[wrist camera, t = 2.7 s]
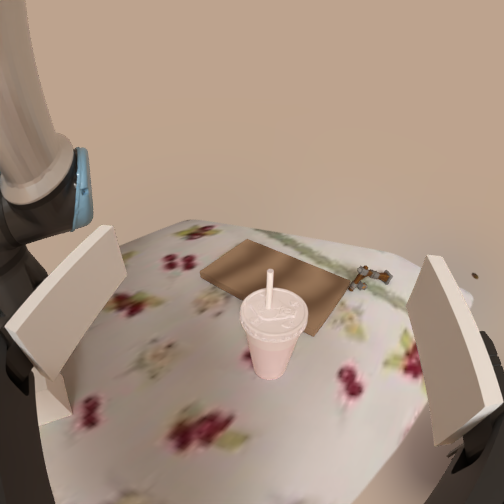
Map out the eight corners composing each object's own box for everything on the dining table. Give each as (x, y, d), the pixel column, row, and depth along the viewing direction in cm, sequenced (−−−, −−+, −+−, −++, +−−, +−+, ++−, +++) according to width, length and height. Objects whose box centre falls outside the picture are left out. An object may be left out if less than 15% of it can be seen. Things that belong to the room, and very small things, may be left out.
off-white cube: (29, 390, 25) (4, 362, 21) (63, 377, 28) (41, 348, 24) (36, 427, 21) (6, 402, 17) (73, 415, 24) (46, 388, 20)
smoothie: (251, 340, 35) (251, 245, 27) (302, 351, 33) (320, 257, 25) (234, 381, 30) (225, 288, 22) (289, 395, 28) (309, 306, 20)
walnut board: (200, 277, 45) (199, 271, 44) (247, 244, 53) (247, 239, 52) (313, 336, 35) (315, 330, 34) (348, 286, 43) (350, 280, 42)
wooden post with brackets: (342, 285, 42) (357, 261, 40) (373, 290, 46) (387, 269, 44) (348, 293, 41) (364, 268, 39) (379, 297, 44) (393, 275, 42)
